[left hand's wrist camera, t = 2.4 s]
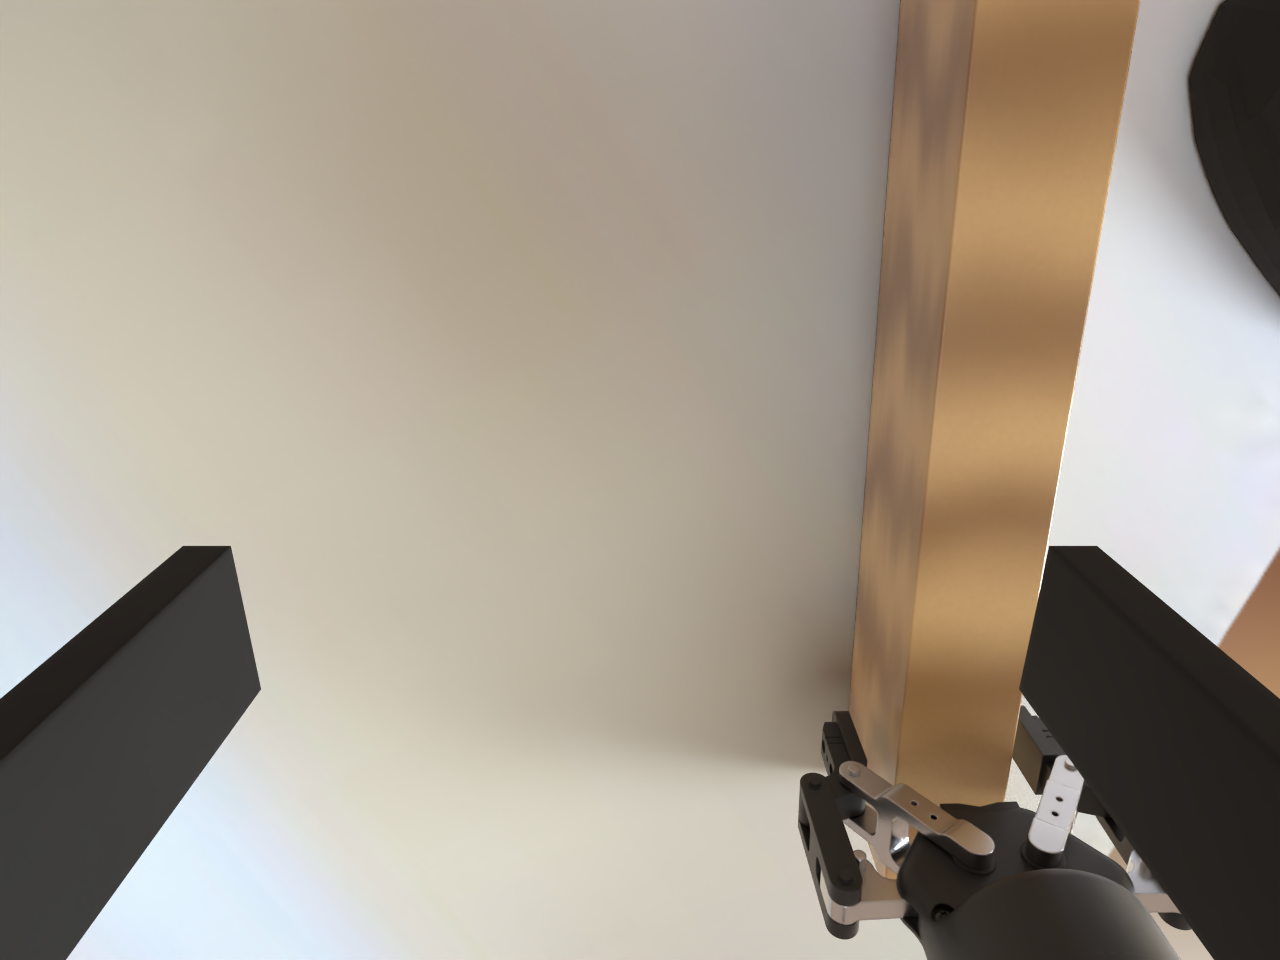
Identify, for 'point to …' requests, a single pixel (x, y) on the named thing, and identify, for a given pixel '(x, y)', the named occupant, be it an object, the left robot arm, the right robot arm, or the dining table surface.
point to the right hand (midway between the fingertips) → (925, 722)
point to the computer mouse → (1243, 123)
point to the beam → (976, 369)
